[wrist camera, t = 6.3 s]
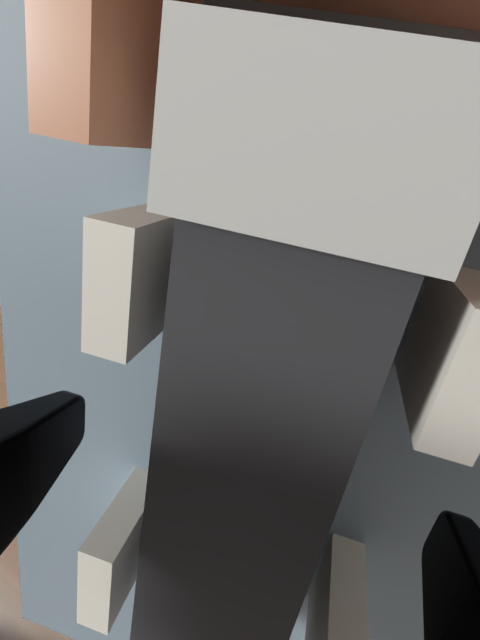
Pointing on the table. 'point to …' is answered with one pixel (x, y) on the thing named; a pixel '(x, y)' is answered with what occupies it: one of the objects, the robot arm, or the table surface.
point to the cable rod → (286, 289)
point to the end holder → (143, 60)
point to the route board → (142, 377)
